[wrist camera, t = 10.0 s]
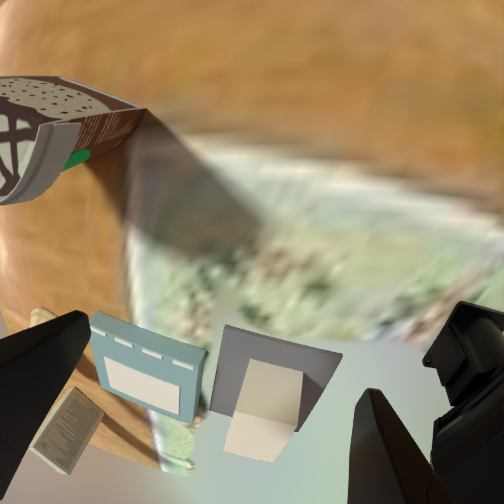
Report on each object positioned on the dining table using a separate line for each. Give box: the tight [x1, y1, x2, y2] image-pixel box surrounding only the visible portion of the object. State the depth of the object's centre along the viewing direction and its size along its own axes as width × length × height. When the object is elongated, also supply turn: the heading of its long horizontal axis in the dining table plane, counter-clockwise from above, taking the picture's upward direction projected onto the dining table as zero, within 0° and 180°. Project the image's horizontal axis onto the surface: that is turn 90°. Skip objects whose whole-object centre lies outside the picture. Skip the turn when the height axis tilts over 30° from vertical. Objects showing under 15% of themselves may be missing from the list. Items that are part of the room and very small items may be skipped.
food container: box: [0, 76, 146, 205], centre depth 14 cm, size 12×6×10 cm, turn 63°
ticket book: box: [89, 311, 206, 425], centre depth 27 cm, size 11×10×2 cm
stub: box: [223, 359, 303, 462], centre depth 23 cm, size 4×7×6 cm, turn 168°
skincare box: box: [28, 387, 105, 475], centre depth 30 cm, size 6×4×12 cm
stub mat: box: [209, 325, 343, 432], centre depth 25 cm, size 10×12×1 cm
